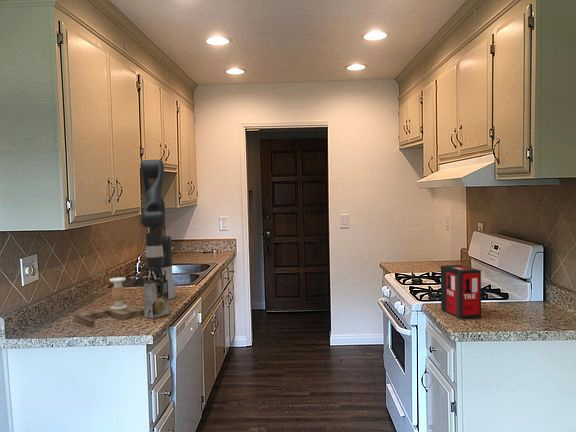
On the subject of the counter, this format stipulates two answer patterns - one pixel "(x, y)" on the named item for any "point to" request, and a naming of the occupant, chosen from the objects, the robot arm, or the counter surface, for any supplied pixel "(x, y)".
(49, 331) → the counter surface
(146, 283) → the coffee box
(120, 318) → the notched board
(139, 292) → the counter surface
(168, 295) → the robot arm
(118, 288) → the bobbin
